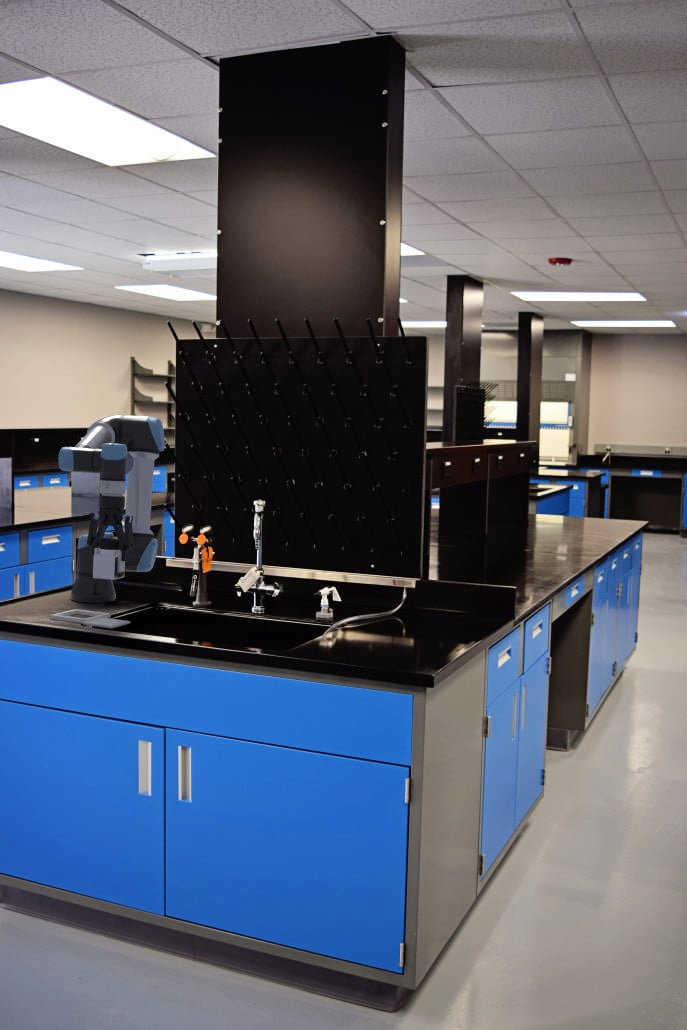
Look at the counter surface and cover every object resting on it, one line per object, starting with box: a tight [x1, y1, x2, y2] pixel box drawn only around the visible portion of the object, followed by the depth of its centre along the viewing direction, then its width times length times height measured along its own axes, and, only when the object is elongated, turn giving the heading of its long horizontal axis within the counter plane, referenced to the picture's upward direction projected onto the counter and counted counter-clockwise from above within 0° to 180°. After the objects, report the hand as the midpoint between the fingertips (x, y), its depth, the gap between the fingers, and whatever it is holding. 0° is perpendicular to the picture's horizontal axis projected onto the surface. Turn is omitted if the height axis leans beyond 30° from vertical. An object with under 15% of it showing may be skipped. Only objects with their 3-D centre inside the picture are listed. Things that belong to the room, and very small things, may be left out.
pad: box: [82, 618, 131, 629], centre depth 285 cm, size 10×10×1 cm
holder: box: [49, 608, 112, 624], centre depth 292 cm, size 13×13×1 cm
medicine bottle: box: [93, 538, 126, 581], centre depth 284 cm, size 7×7×12 cm
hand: (109, 570), depth 284 cm, fingers closed on medicine bottle, 7 cm apart
